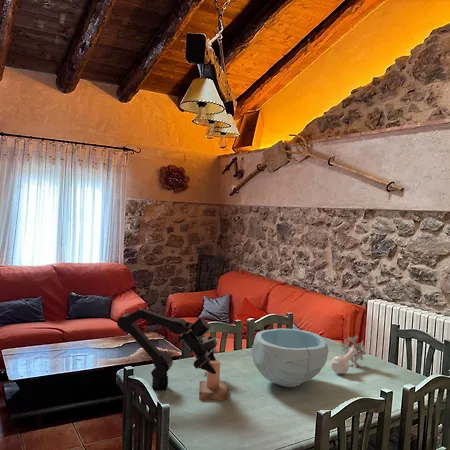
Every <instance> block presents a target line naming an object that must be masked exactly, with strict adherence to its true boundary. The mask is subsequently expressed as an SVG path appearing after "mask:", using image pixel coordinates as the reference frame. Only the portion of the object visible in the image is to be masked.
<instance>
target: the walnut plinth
mask: <svg viewBox="0 0 450 450" xmlns="http://www.w3.org/2000/svg"><path fill="white" fill-rule="evenodd" d="M198 389H199V391H198V400H213V401H214V400H217V401H218V400H219V401H220V400H221V401H225V400H226V401H227V400H228V388H227V382H226V381H219V388H218V389H208V388H207V380H200V381H199V387H198Z"/></svg>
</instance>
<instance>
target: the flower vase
mask: <svg viewBox="0 0 450 450" xmlns="http://www.w3.org/2000/svg"><path fill="white" fill-rule="evenodd" d="M358 338H359V336H358V335H357V334H356V335H354V336H353V337H351V336H348V337H347V338H344V341H343V342H344V343H341V344H340V347H341V348H343V349H342V350H341V352H342V353H345V355H343V356H341V355H335V356H333V358H332V359H331V361H330V364H331V369H332V371H333V372H334V373H335V374H339V375H344V374H347V372H348V371H349V368H350V366H351V367H353V368H354V369H357V368H358V367H359V368H363V366H362V365H361V364H360V363H359V362H358V360H360V361H364V356H363V355H367V352H366V351H365V350H366V346H365V344H364V340H363V339H362V340H361V342H358V343H356V340H357V339H358ZM350 342H352V344H351V345H350ZM363 344H364V345H363ZM349 361H350V362H349Z"/></svg>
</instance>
